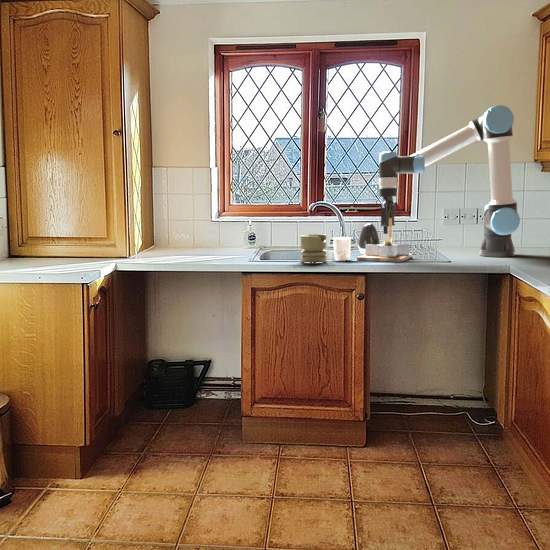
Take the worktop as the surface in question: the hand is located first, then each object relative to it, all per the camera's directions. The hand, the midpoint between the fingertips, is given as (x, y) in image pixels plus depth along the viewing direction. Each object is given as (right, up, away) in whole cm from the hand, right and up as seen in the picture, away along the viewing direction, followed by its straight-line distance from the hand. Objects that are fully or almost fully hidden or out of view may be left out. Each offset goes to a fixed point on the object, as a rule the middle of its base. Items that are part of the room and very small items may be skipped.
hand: (387, 240), depth 284 cm
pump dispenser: (-5, -6, +20) cm, 22 cm away
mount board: (-1, -8, +3) cm, 9 cm away
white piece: (0, -7, +3) cm, 7 cm away
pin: (0, -6, +1) cm, 6 cm away
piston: (-33, -10, -1) cm, 34 cm away
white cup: (-20, -9, +4) cm, 22 cm away
